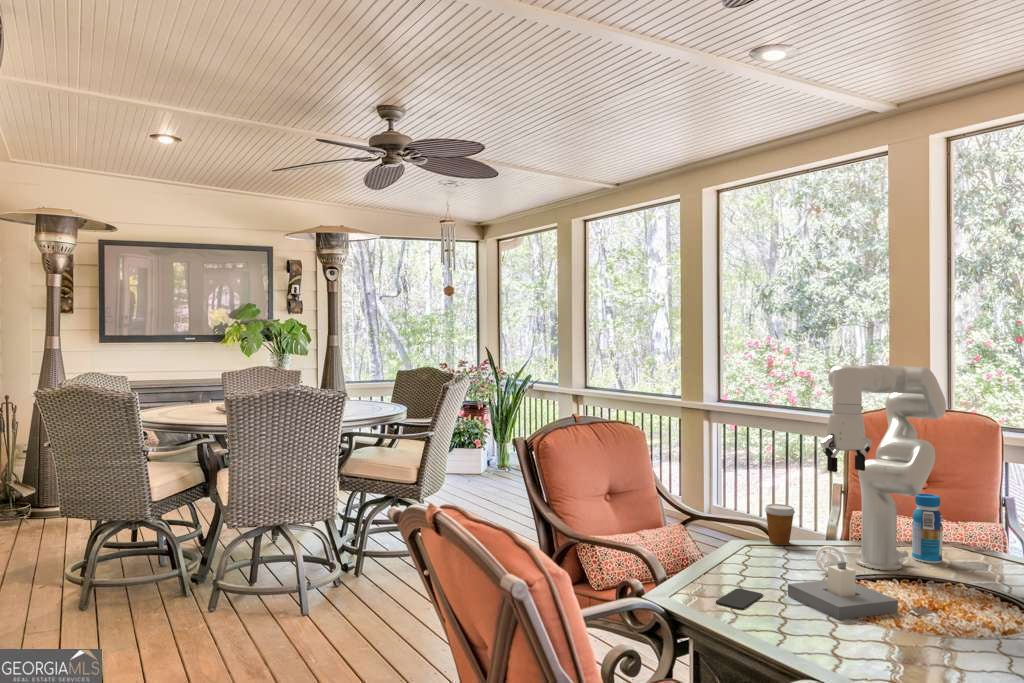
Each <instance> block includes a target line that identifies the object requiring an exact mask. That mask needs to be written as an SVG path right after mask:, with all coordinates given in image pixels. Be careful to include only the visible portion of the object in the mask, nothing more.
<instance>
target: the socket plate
mask: <svg viewBox="0 0 1024 683" xmlns="http://www.w3.org/2000/svg"><path fill="white" fill-rule="evenodd" d="M787 596H788V597H790V598H792V599H794V600H796V601H799V602H800V603H802V604H805V605H806V606H809V607H810V608H811V607H812V608H813V609H816V610H817V611H820V612H821V613H824V614H825V615H828V616H830V617H832V618H834V619H836V620H838V621H839V620H847V619H855V618H863V617H871V616H879V615H887V614H886V613H889V614H896V613H897V614H898V613H899V600H898V599H897V598H893V597H891V596H889V595H886V594H884V593H881V592H878V591H876V590H873V589H871V588H868V587H866V586H863V585H861V584H859V583H856V582H855V596H846V597H839V596H837V595H834V594H832V593H830V592H828V579H826V580H825V579H824V580H814V581H805V582H804V581H803V582H795V583H794V582H793V583H787Z"/></svg>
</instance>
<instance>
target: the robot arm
mask: <svg viewBox="0 0 1024 683" xmlns="http://www.w3.org/2000/svg"><path fill="white" fill-rule="evenodd" d="M827 379H828V383H829V385H830V387H831V388H832V413H831V414H830V415H829V418H828V423H827V428H826V437H825V438H824V439H822V440H821V441H820V442H819V444H820V446H821V450H822V451H823V453H824V455H825V457H827V469H826V470H827V471H828V472H833V473H837V472H838V459H839V458H838V457H836V456H837V455H838V454H839V453H840V451H842V452H847V451H848V452H849V451H853V452H855V454H856V455H854V469H855V470H856V471H858V472H857V473H858V479H859V485H860V493H861V530H860V532H861V534H860V535H861V539H860V540H861V542H860V543H861V546H860V547H861V548H860V549H861V550H860V552H861V553H860V554H861V555H859V556H858V555H857V556H855V561H854V562H856V564H858V565H859V566H861V565H862V566H861V567H864V566H865V567H864V568H868V569H872V568H874V569H873V570H878V569H880V571H898V569H899V570H901V569H903V563H902V562H901V561H900V559H903V558H908V557H909V552H908V551H907V550H902V551H900V550H898V549H897V538H898V537H897V536H898V535H897V534H898V530H897V526H898V525H897V524H898V522H897V520H898V519H897V516H898V507H897V504H896V502H895V500H894V499H893V497H892V495H891V494H894V495H901V496H908V497H915V496H916V495H917V494H921V492H922V490H923V488H924V486H925V485H926V483H927V480H928V478H929V476H930V474H931V473H932V471H933V468H934V465H935V461H936V451H935V448H934V446H933V445H932V443H931V442H929V441H927V440H924V439H920V438H919V439H918V432H917V430H916V428H915V426H914V425H913V423H911V422H910V421H909V420H908V418H912V419H924V420H926V419H927V420H939V419H940V418H942V417H944V415H945V414H946V410H947V401H946V399H945V396H944V394H943V391H942V389H941V386H940V384H939V382H938V381H939V380H937V378H936V375H935V374H934V373H933V372H932V370H931V369H929V368H928V367H926V366H911V365H910V366H909V365H908V366H907V365H906V366H905V365H885V364H884V365H883V364H878V365H877V364H872V365H871V364H870V365H853V364H852V365H851V364H850V365H848V364H847V365H845V364H843V365H841V364H839V365H835V366H833V367H831V369H830V370H829V372H828V376H827ZM863 393H870V394H888V395H887V396H886V400H885V413H886V419H887V426H888V427H887V430H886V432H885V433H884V435H883V437H882V438H881V441H880V443H879V444H878V446H877V448H876V451H875V458H869V459H866V457H868V453H869V452H870V450H871V446H872V445H873V440H872V439H870V438H868V437H867V436H866V429H865V428H866V427H865V420H864V417H863V415H862V413H863V412H862V411H863V410H864V406H863V405H862V403H863V402H862V401H863V400H862V399H863V398H862V397H863V396H862V395H863Z"/></svg>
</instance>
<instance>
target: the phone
mask: <svg viewBox="0 0 1024 683" xmlns="http://www.w3.org/2000/svg"><path fill="white" fill-rule="evenodd" d="M763 597H764V594H763V593H761V592H757V591H753V590H749V589H744V588H735V589H733V590H731V591H729V592H728V593H726V594H725V595H723V596H721V597H719V598H718V599H716V600H715V604H716V605H718V606H723V607H727V608H731V609H733V610H734V609H735V610H739V611H743V610H746V609H747V608H748V607H750V606H751V605H753V604H754V603H755V602H757V601H758V600H760V599H761V598H763Z"/></svg>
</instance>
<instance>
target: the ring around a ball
mask: <svg viewBox="0 0 1024 683" xmlns="http://www.w3.org/2000/svg"><path fill="white" fill-rule="evenodd" d="M826 550H828V551H829V552H828V551H827V552H825V553H823V552H824V551H826ZM831 551H833V552H831ZM834 552H835V553H836V554H835V553H834ZM822 553H823V555H822V557H821V554H822ZM837 555H838V556H837ZM820 557H821V560H820ZM839 558H840V561H843V562H846V560H845V557H844V554H843V553H842V551H841V550H839V549H838V548H836V547H835V546H831V545H824V546H821V547H819V548H818V549H817V551H816V553H815V561H816V565H817V567H818V568H819V569H820V570H821V571H822V572H824V573H825V574H828V566H837V562H838V561H839ZM821 561H822V562H821ZM824 566H825V567H826V568H825V567H824Z"/></svg>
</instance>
